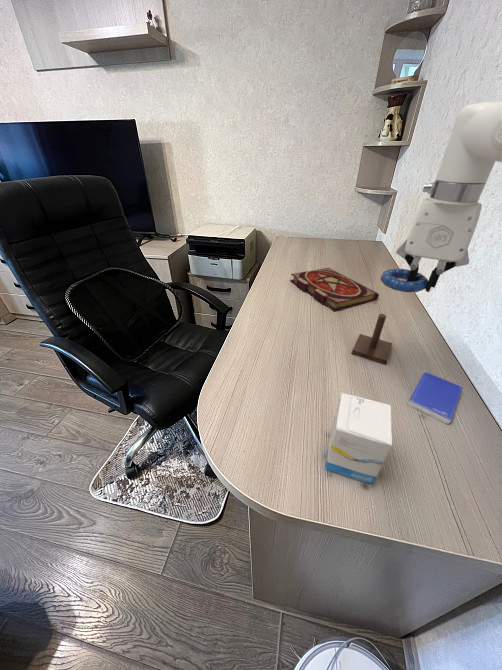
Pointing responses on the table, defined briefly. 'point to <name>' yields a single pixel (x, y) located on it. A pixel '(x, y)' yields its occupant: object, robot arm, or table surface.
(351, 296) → the book
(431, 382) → the hard drive
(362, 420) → the ink box
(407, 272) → the blue teething ring
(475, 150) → the robot arm
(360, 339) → the stand
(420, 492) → the table surface
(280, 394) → the table surface
